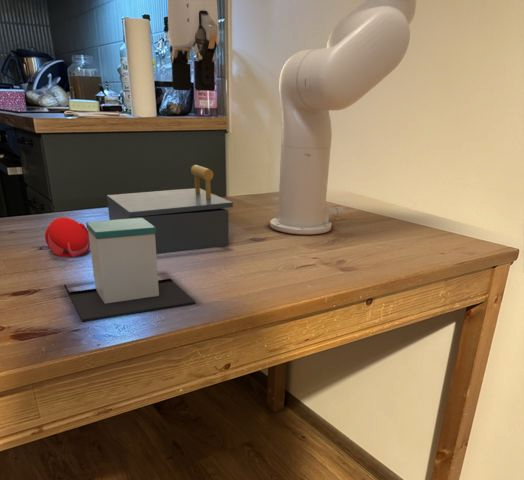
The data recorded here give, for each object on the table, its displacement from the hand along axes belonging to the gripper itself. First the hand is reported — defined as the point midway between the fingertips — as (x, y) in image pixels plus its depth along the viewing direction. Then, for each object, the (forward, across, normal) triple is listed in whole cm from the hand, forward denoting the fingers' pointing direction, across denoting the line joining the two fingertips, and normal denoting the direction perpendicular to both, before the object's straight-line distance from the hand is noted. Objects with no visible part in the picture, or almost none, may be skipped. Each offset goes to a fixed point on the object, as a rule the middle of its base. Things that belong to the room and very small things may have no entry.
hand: (193, 90), depth 82 cm
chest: (+24, -2, +7) cm, 26 cm away
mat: (+24, -24, +20) cm, 40 cm away
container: (+24, -24, +20) cm, 40 cm away
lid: (+17, -3, +6) cm, 19 cm away
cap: (+25, -3, +24) cm, 34 cm away
